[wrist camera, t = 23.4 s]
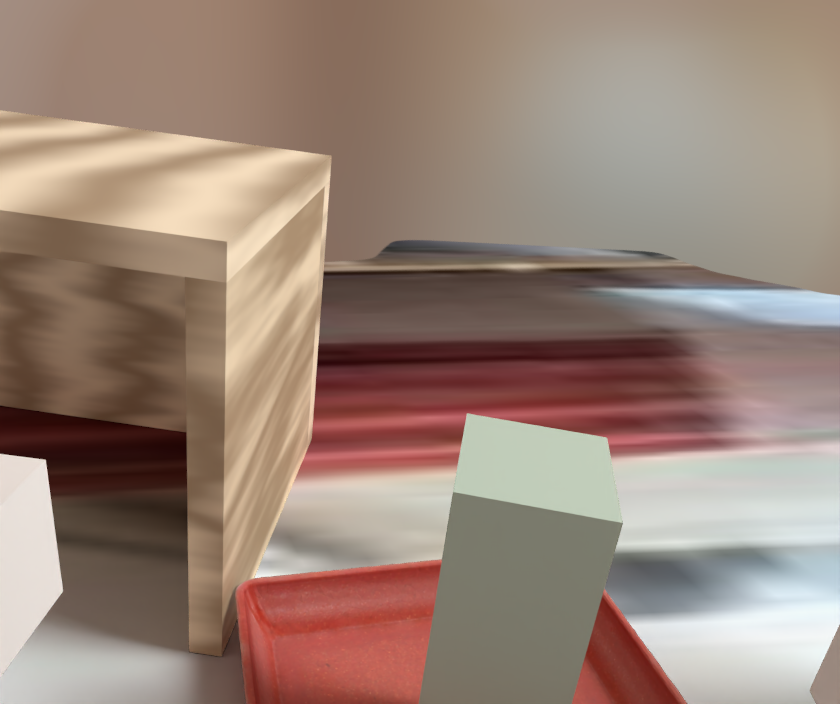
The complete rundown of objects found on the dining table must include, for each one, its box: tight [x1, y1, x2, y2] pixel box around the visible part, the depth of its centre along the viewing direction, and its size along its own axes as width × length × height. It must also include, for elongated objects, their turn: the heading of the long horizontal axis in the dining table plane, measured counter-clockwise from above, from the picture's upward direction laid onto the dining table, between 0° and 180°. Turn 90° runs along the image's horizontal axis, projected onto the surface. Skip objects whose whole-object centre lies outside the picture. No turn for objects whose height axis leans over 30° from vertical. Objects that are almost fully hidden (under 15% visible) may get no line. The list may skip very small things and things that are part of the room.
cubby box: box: [0, 111, 331, 657], centre depth 38 cm, size 24×20×20 cm
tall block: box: [419, 414, 623, 704], centre depth 26 cm, size 5×5×12 cm
